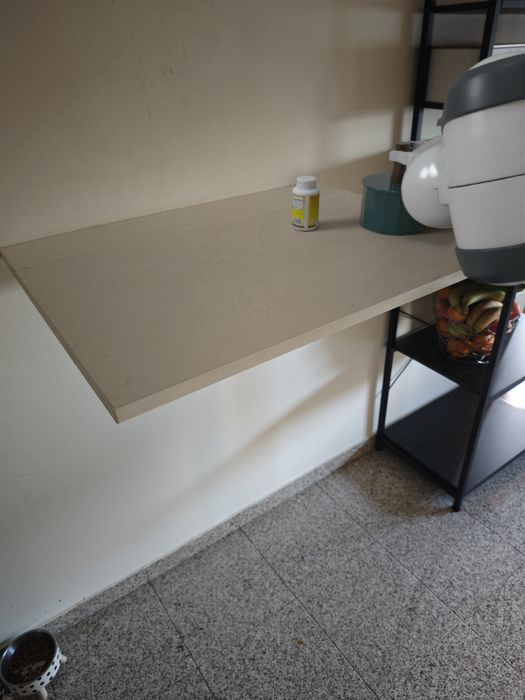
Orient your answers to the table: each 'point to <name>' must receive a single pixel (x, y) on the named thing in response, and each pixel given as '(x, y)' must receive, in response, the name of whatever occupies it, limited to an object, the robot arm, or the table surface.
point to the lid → (389, 175)
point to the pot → (387, 214)
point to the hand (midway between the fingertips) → (398, 150)
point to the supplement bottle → (305, 204)
